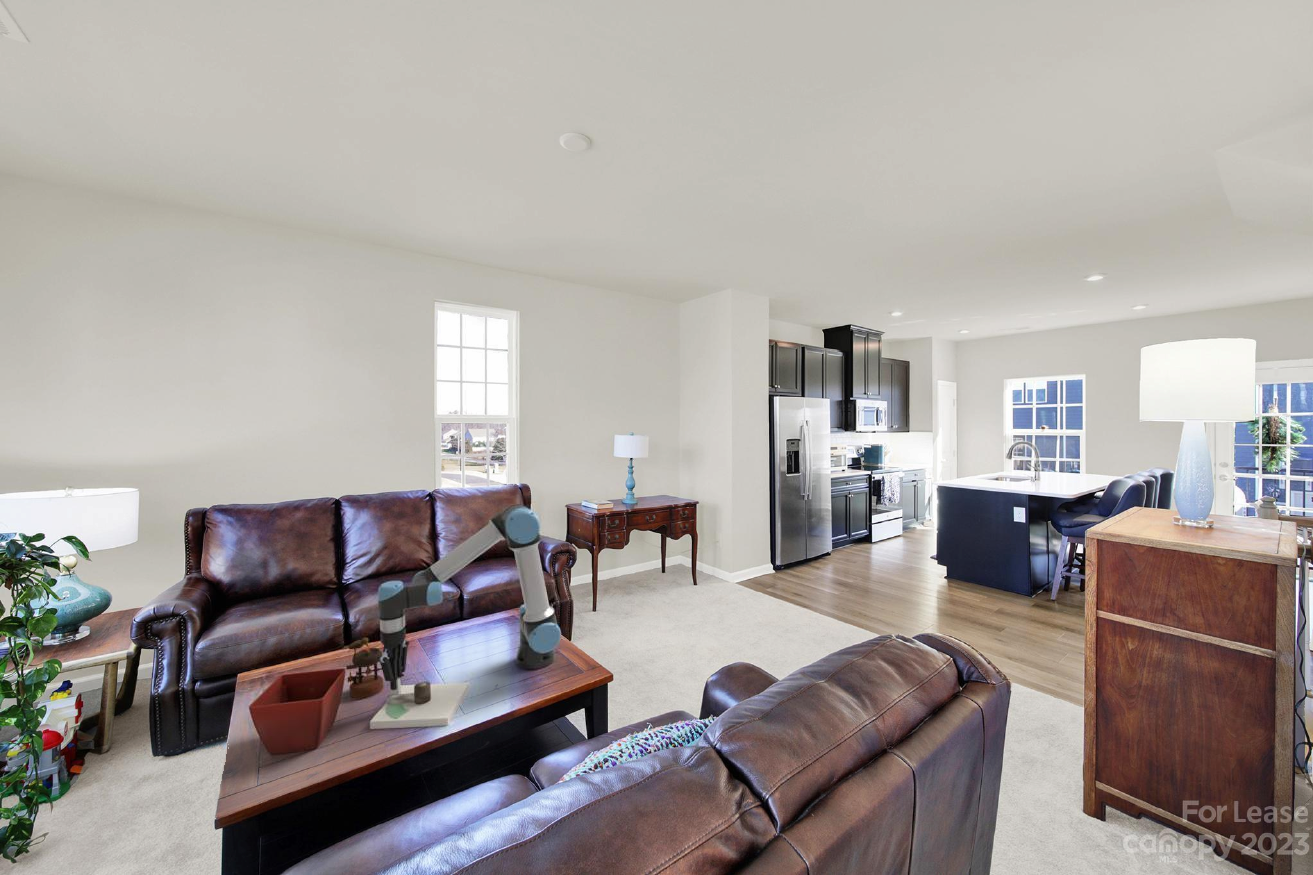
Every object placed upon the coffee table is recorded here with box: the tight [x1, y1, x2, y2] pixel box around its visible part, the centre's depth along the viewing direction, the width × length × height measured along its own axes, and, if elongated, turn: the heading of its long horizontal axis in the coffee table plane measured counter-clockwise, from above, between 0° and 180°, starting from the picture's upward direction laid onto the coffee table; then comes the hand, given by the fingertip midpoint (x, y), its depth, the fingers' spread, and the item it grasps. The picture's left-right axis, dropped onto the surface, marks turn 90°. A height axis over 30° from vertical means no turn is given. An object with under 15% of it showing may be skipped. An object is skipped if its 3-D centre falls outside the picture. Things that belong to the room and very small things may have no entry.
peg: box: [386, 681, 431, 704], centre depth 174 cm, size 14×5×5 cm, turn 100°
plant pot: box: [248, 667, 347, 756], centre depth 158 cm, size 19×19×17 cm
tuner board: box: [369, 682, 470, 730], centre depth 175 cm, size 24×22×3 cm
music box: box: [342, 637, 384, 700], centre depth 186 cm, size 15×11×20 cm
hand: (396, 696), depth 175 cm, fingers closed
